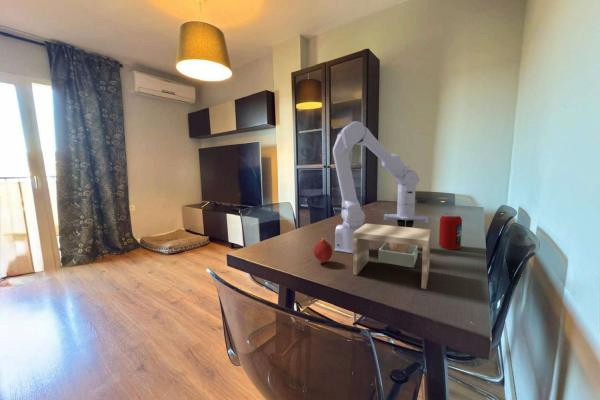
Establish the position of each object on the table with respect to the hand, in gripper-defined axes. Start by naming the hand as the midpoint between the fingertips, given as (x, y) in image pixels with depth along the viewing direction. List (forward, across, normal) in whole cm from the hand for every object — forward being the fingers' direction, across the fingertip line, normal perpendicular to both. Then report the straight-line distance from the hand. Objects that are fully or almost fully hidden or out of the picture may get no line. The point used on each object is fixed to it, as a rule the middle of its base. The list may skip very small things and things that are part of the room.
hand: (404, 240), depth 90 cm
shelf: (+3, -2, -25) cm, 25 cm away
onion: (+3, -22, -25) cm, 34 cm away
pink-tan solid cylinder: (+2, -1, -14) cm, 14 cm away
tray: (+2, -1, -12) cm, 12 cm away
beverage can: (+3, +14, +6) cm, 16 cm away
